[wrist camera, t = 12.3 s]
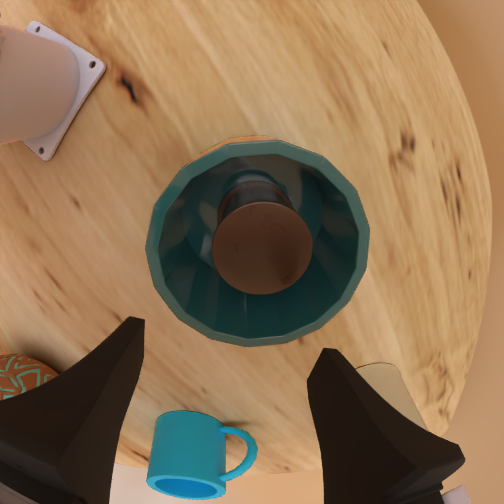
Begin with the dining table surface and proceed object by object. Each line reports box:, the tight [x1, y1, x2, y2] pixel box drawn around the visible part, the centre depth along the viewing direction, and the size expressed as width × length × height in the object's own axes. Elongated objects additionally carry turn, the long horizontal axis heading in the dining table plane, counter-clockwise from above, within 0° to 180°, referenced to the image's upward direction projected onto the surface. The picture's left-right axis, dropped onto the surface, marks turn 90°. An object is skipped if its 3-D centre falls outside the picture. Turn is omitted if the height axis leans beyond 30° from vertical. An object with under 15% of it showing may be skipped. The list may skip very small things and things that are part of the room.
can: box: [356, 363, 429, 431], centre depth 23 cm, size 9×9×12 cm
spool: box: [212, 180, 313, 295], centre depth 16 cm, size 5×5×6 cm
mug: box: [146, 411, 258, 500], centre depth 25 cm, size 12×8×8 cm
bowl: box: [145, 135, 370, 347], centre depth 16 cm, size 10×10×7 cm
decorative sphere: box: [0, 354, 59, 400], centre depth 19 cm, size 15×15×15 cm
